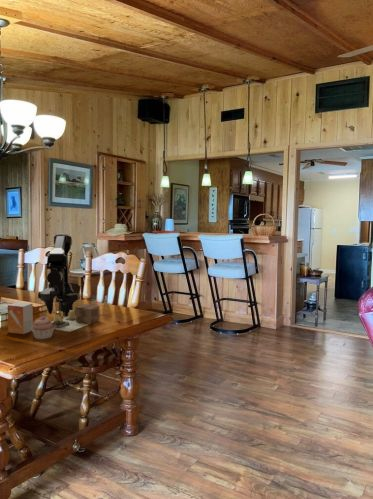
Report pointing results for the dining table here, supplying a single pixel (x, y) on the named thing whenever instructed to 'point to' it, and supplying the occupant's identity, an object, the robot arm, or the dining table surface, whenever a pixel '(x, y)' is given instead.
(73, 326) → the board
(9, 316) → the small box
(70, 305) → the robot arm
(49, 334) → the cupcake
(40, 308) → the dining table surface
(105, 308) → the dining table surface
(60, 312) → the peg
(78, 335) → the dining table surface
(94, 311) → the housing
